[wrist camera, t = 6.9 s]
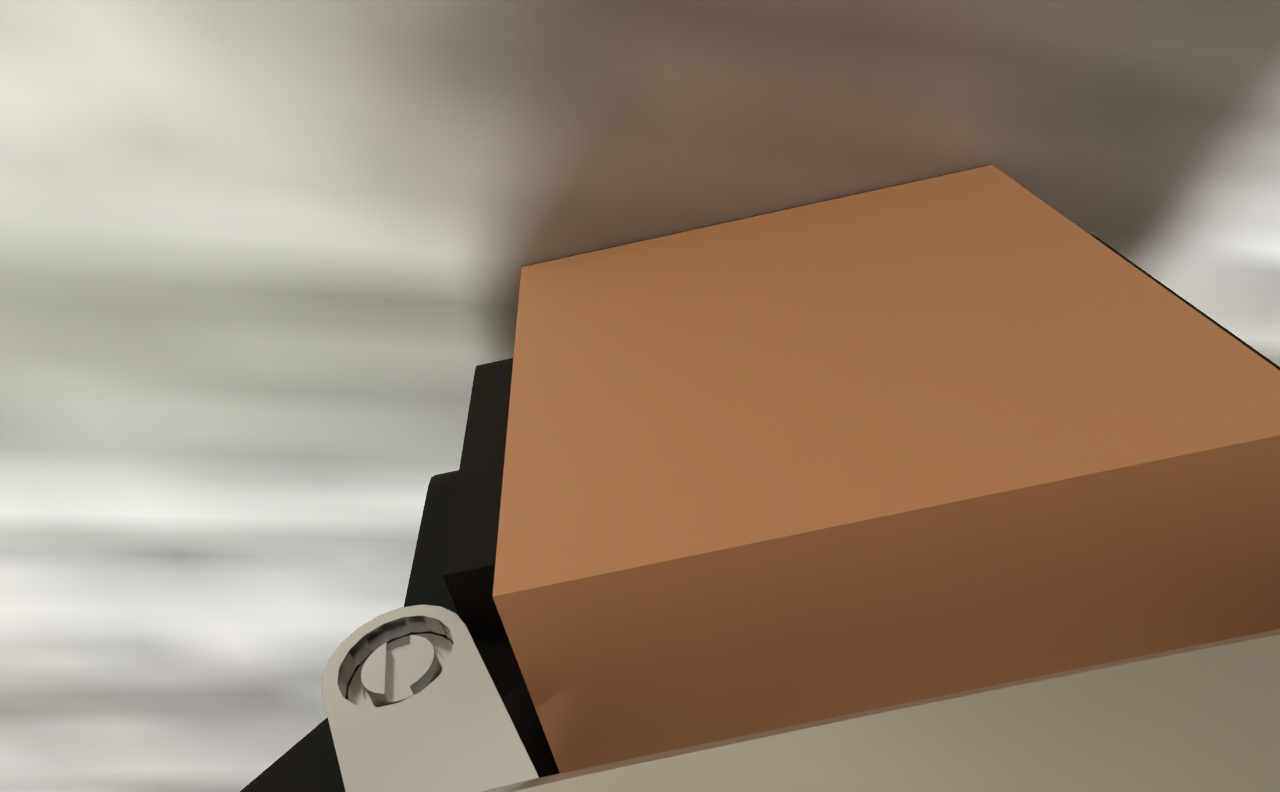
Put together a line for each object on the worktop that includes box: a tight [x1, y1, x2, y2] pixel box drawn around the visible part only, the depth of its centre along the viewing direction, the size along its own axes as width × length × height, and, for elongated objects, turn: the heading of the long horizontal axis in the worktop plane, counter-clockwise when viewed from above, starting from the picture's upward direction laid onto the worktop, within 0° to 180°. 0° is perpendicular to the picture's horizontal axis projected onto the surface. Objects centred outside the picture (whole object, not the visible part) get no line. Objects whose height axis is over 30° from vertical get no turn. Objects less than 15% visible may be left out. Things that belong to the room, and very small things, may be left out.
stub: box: [492, 165, 1280, 773], centre depth 10 cm, size 6×4×6 cm
